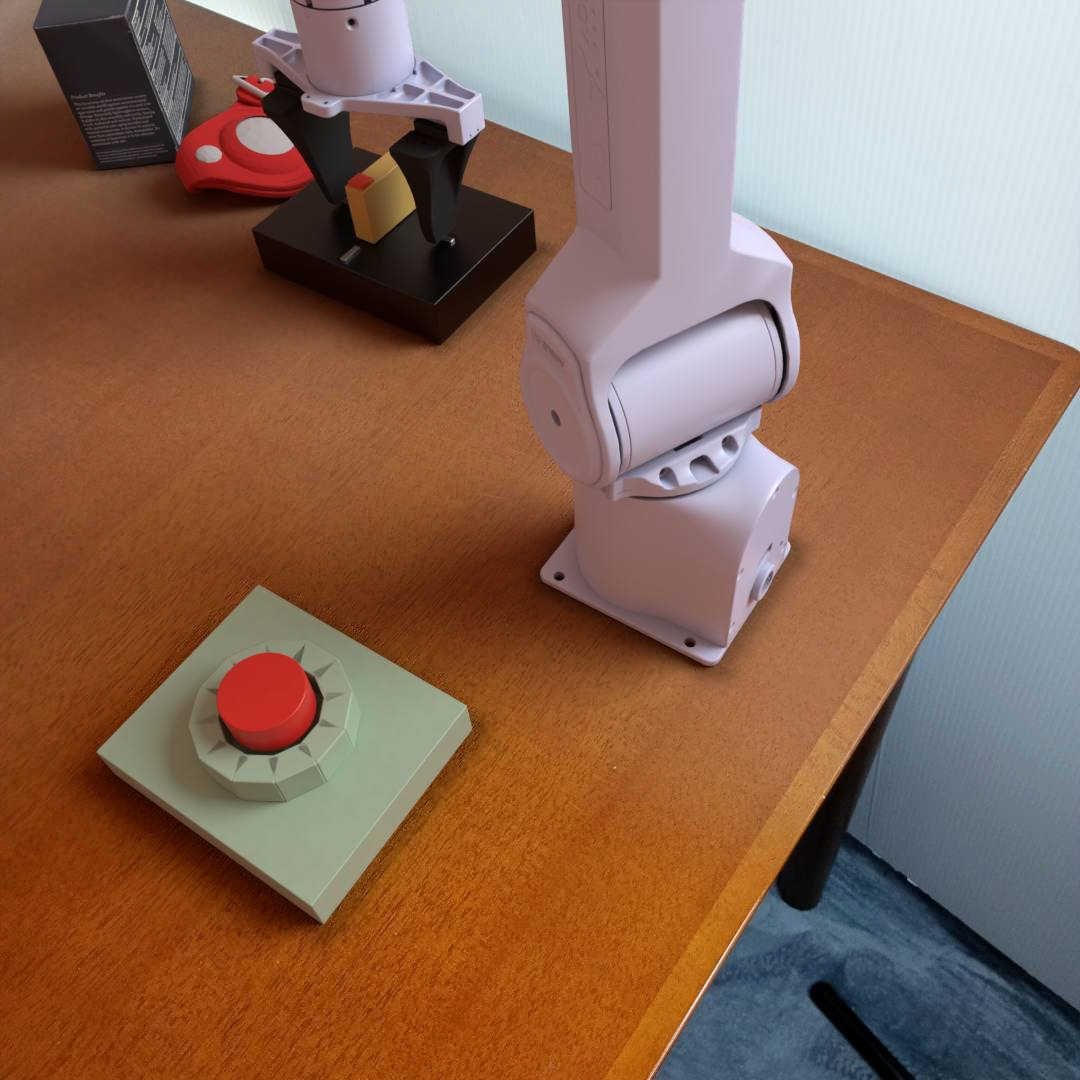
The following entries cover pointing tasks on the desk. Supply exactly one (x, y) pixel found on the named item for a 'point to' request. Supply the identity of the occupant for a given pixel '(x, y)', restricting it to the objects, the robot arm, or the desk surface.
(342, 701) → the alarm block
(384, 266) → the plate
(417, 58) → the robot arm
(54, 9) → the small box
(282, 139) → the tracker holder
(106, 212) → the desk surface
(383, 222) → the thumb turn
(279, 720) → the alarm button
